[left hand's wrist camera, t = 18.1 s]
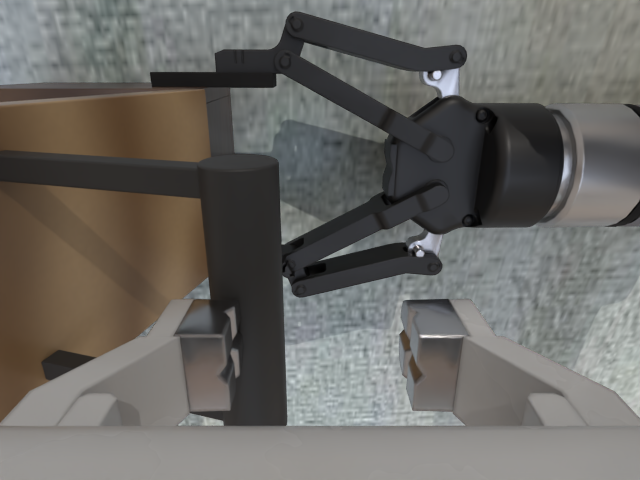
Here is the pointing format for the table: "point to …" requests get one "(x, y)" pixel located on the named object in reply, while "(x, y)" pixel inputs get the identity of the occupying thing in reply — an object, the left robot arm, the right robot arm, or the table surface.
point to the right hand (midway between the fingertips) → (170, 168)
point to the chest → (215, 97)
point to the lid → (132, 238)
